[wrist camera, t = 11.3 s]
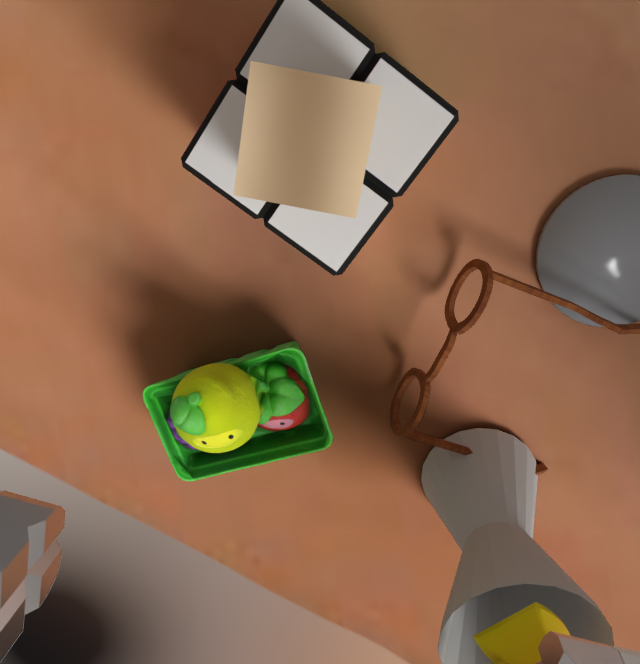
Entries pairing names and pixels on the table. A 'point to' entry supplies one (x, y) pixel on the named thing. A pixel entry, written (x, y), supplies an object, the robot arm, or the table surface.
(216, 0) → the table surface
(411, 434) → the bent wire
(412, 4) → the table surface
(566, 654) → the robot arm
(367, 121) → the oak block
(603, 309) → the slate coaster
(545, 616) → the lava lamp
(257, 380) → the fruit basket
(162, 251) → the table surface
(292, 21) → the puzzle cube
